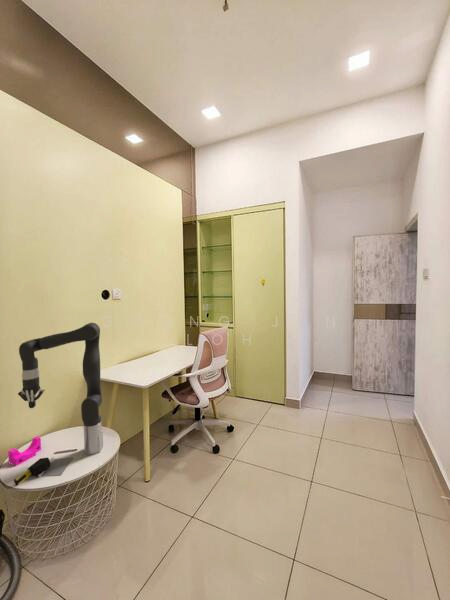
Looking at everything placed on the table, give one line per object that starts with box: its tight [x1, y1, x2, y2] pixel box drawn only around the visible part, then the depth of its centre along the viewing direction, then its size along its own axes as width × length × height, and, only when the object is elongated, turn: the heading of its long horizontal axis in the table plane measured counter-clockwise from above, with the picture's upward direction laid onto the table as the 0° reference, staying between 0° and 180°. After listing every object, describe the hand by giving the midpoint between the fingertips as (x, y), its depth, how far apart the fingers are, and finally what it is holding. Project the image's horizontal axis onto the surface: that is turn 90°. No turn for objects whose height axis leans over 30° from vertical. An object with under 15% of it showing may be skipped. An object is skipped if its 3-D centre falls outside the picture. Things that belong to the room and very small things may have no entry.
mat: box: [37, 456, 73, 478], centre depth 141 cm, size 10×14×2 cm
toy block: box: [7, 436, 42, 466], centre depth 149 cm, size 15×6×8 cm, turn 160°
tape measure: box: [13, 457, 51, 486], centre depth 133 cm, size 15×4×8 cm
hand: (32, 407), depth 147 cm, fingers closed
